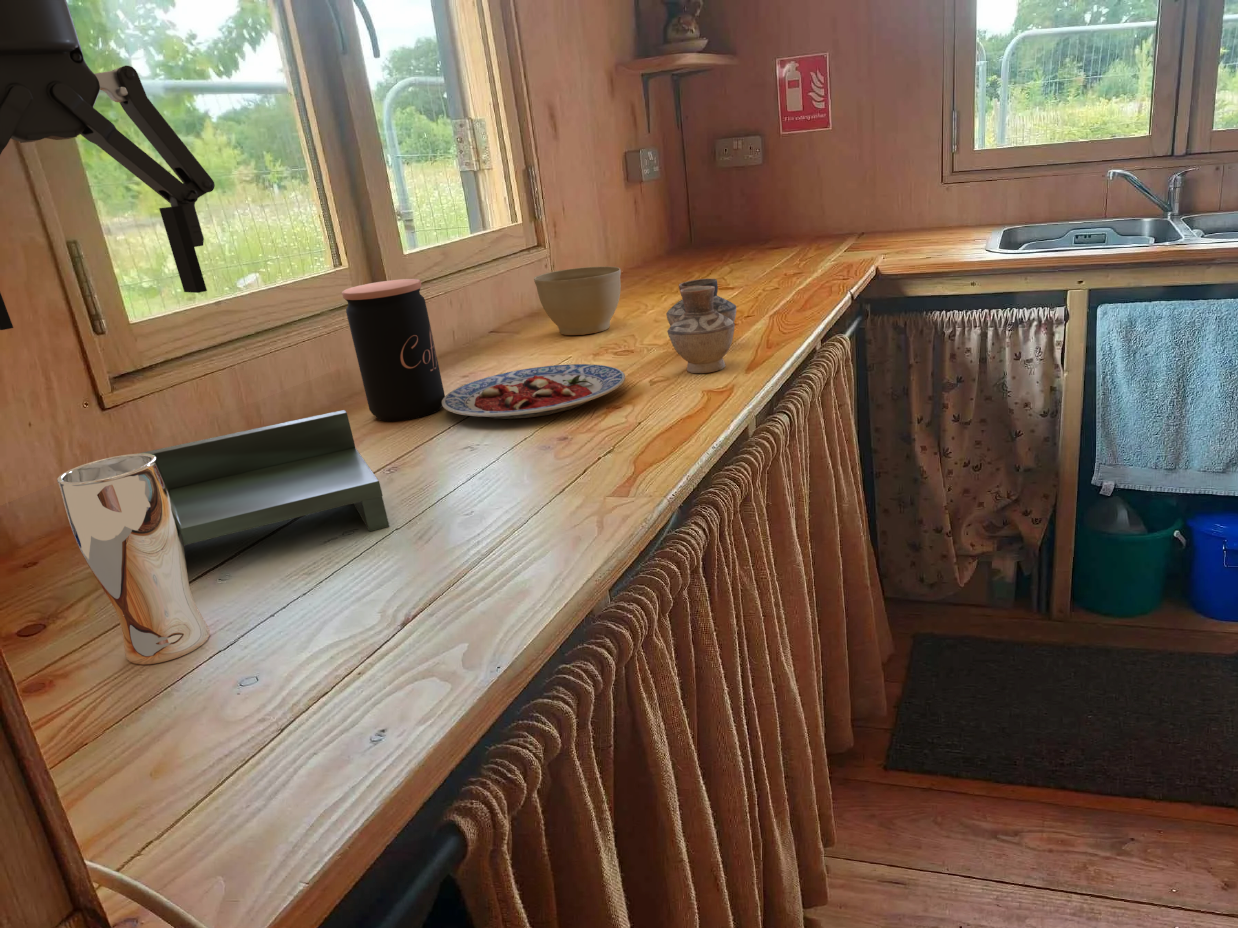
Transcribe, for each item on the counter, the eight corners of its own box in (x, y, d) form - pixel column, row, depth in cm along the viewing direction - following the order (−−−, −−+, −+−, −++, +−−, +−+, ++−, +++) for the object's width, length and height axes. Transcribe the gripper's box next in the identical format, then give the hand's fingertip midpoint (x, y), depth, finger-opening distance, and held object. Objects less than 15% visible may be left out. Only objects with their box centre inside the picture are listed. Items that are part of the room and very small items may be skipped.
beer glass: (168, 622, 81) (109, 452, 76) (235, 626, 79) (179, 451, 73) (100, 665, 75) (30, 484, 69) (171, 671, 73) (105, 484, 67)
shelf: (150, 537, 101) (122, 456, 98) (363, 486, 110) (344, 409, 107) (146, 591, 88) (114, 499, 85) (390, 528, 96) (369, 441, 93)
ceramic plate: (465, 443, 122) (460, 420, 120) (430, 402, 144) (426, 382, 143) (654, 401, 130) (651, 380, 129) (593, 369, 153) (591, 350, 151)
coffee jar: (421, 422, 134) (392, 290, 127) (356, 423, 137) (324, 295, 130) (460, 400, 143) (435, 276, 136) (399, 401, 146) (371, 281, 140)
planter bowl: (592, 341, 174) (583, 280, 170) (525, 339, 182) (515, 281, 178) (644, 322, 186) (637, 264, 182) (579, 321, 194) (571, 266, 190)
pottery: (668, 381, 140) (658, 298, 136) (671, 345, 163) (662, 273, 159) (746, 372, 140) (739, 289, 135) (738, 338, 163) (731, 265, 158)
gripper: (-235, -22, 55) (-83, 349, 62) (207, -15, 71) (284, 279, 79) (-248, 1, 60) (-105, 343, 67) (168, 3, 76) (244, 278, 84)
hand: (105, 309), depth 73 cm, fingers open, 13 cm apart
